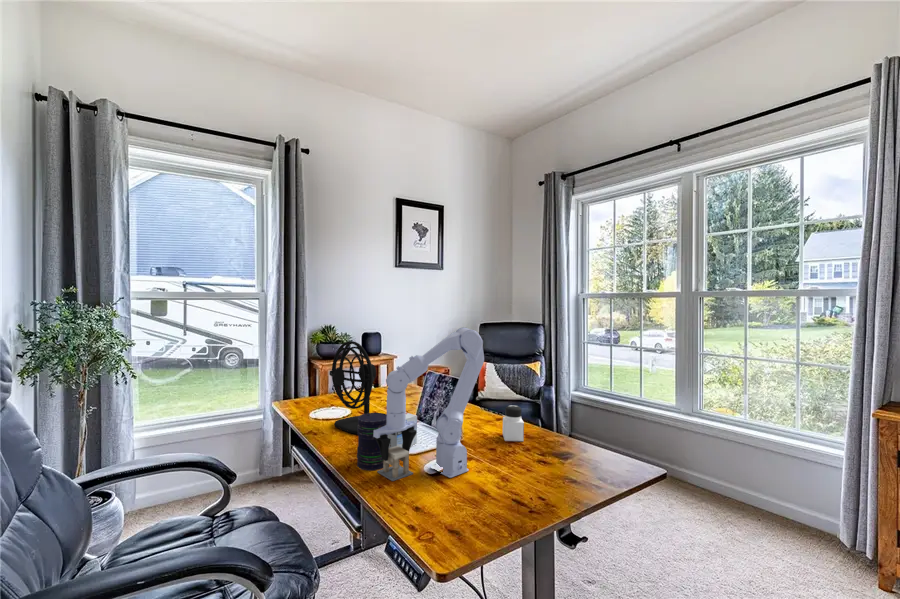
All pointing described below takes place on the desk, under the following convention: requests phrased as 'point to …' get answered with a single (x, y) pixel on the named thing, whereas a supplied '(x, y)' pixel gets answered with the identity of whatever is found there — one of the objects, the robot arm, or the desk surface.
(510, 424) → the medicine bottle
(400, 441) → the light bulb box
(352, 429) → the desk fan
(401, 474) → the mat
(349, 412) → the desk surface
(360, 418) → the storage jar
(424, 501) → the desk surface
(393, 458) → the stool
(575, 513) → the desk surface
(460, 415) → the robot arm
